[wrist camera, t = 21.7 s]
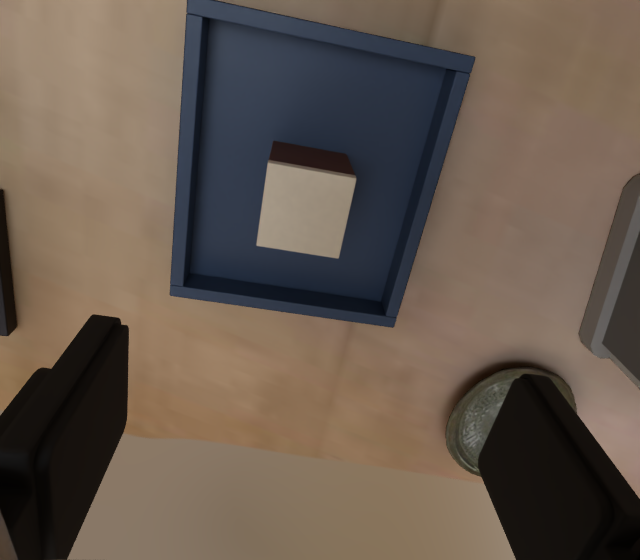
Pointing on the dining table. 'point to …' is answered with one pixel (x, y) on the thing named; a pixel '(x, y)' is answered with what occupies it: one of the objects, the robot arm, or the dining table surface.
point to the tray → (311, 131)
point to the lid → (486, 413)
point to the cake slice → (306, 200)
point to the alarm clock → (618, 291)
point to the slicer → (5, 279)
